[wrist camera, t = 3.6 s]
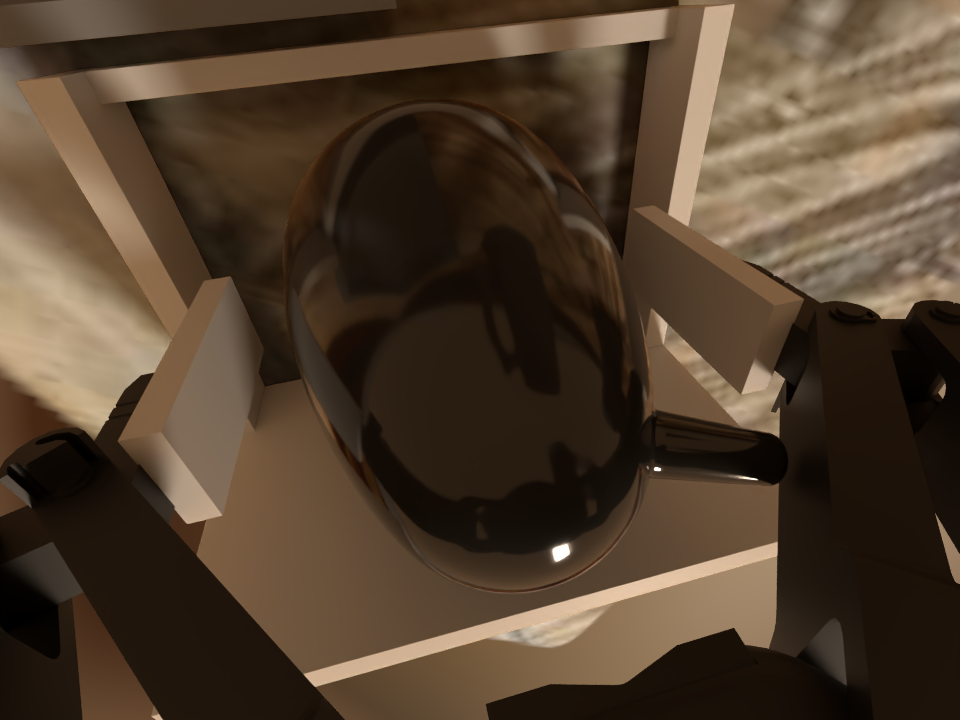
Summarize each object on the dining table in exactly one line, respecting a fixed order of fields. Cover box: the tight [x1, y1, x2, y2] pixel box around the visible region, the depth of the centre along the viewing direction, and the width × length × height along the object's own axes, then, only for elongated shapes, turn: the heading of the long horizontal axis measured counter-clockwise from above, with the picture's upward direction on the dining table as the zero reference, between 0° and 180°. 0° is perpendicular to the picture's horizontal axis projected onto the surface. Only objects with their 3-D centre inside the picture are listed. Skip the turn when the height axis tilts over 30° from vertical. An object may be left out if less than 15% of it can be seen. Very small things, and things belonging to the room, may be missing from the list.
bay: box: [16, 4, 779, 720], centre depth 14 cm, size 20×14×13 cm
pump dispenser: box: [283, 99, 789, 593], centre depth 13 cm, size 10×10×15 cm
